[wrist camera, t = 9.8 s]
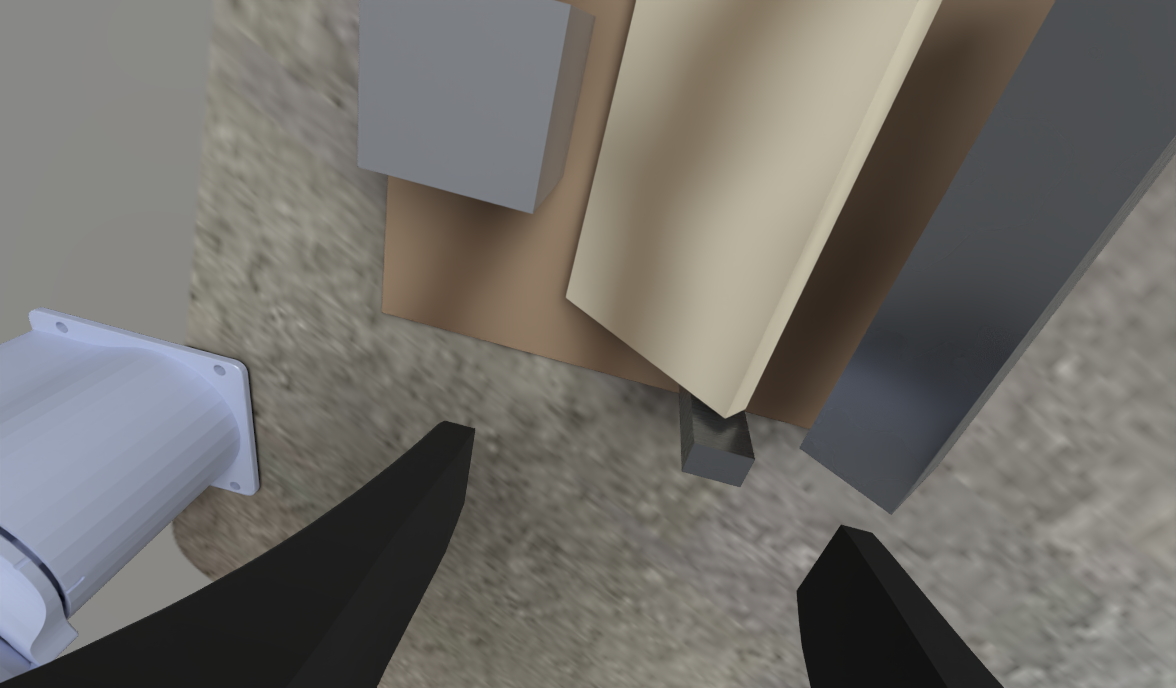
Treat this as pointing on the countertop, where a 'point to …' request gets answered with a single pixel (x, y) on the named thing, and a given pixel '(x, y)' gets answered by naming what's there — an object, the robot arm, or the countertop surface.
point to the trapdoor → (821, 186)
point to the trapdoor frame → (832, 292)
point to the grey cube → (471, 94)
